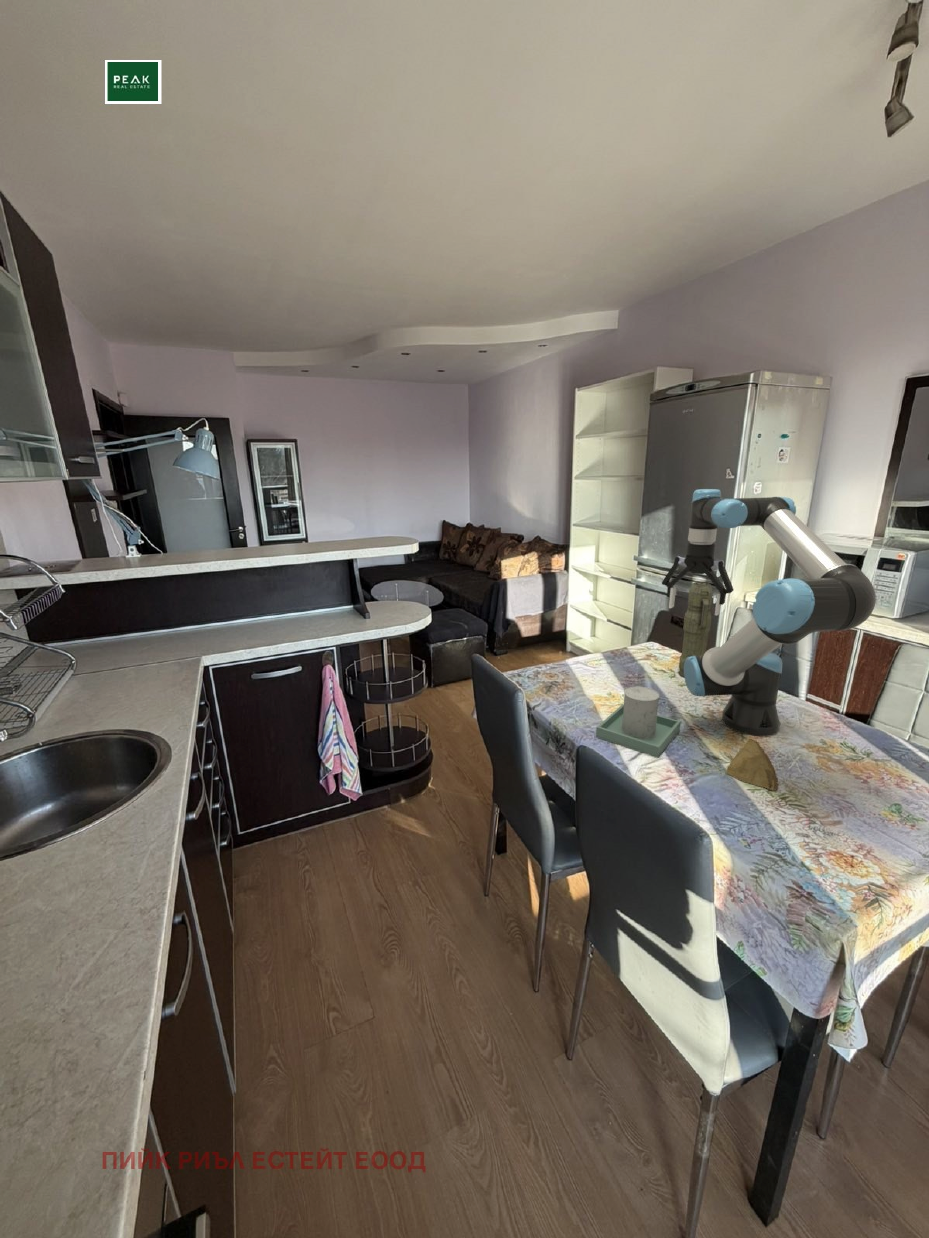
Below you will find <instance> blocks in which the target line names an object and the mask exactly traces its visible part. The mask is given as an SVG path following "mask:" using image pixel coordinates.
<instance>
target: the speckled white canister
mask: <svg viewBox="0 0 929 1238" xmlns="http://www.w3.org/2000/svg"><path fill="white" fill-rule="evenodd" d="M623 692H624V697H623V705H624V708H623V721H622V732H623V733H624V734H625V735H627V736H630V737H633V738H636V739H639V740H648V739H652V738H654V737H655V735H656V723H657V715H658V712H659V711H658V710H659V701H660V699H659V698H660V692H658V691H657V690H656V689H653V688H651V687H648V686H647V687H646V686H639V685H638V686H637V685H635V686H634V685H633V686H629V687H627V688H626V689H624V691H623Z"/></svg>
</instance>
